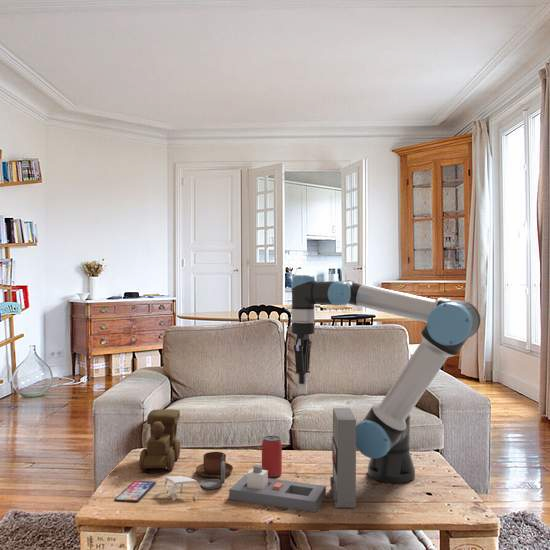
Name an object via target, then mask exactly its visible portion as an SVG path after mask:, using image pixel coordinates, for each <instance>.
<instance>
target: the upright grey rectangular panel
mask: <svg viewBox="0 0 550 550" xmlns="http://www.w3.org/2000/svg"><path fill="white" fill-rule="evenodd" d="M352 411H353V410H352V409H351V408H350V407H333V408H332V436H331V437H332V443H331V444H332V447H331V448H332V449H331V450H332V453H331V454H332V455H331V456H332V476H331V474H330V475H329V477H330V478H329V479H330V482H329V483H330V484H329V486H330V492H331V495H332V499H333V503H334V507H335V508H336V509H339V508H352V509H356V508H357V501H356V500H357V497H356V496H357V490H356V489H357V478H356V477H357V447H356V426H357V419H356V417H355V415H354V413H353V412H352Z"/></svg>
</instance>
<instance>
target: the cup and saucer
mask: <svg viewBox="0 0 550 550" xmlns="http://www.w3.org/2000/svg"><path fill="white" fill-rule="evenodd" d="M223 453H224V452H222V451H210V452H209V451H208V452H205V453H204V454H203V456H202V457H203V459H202V460H203V463H202V464H199V465H197V466H196V469H195V471H196V473H197V474H199V475H200V476H202V477H205V478H221V461H222V459H221V458H222V456H223ZM226 457H227V455H226V453H224V459H223V461H224V462H225V476H228V475H229V474H230V473H232V471H233V470H234V467H233V465H232V464H230V463H227V462H226V461H227V460H226V459H227V458H226Z"/></svg>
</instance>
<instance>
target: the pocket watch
mask: <svg viewBox="0 0 550 550" xmlns="http://www.w3.org/2000/svg"><path fill="white" fill-rule="evenodd" d="M222 453H223V456H222V458H221V459H222V461H221V477H220V479H218V478H208V479H204V480H202V481H201V482H200V487H201V488H203V489H208V490H212V489H218V488H220V487H222V485H223V484H224V483H226V475H225V462H224V461H223V459H224V452H222Z"/></svg>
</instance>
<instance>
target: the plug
mask: <svg viewBox="0 0 550 550" xmlns="http://www.w3.org/2000/svg"><path fill="white" fill-rule="evenodd" d="M246 475H247V488H255V489H262V490H265V489H266V488H267V487H268V478H269V477H268V470H262V464H261V465H260V464H255V465H253V467H252V468H251V469H250V470H248V471H247V473H246Z"/></svg>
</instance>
